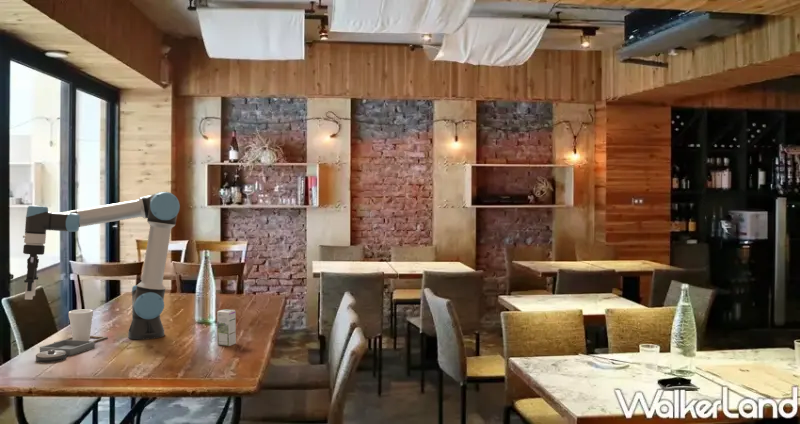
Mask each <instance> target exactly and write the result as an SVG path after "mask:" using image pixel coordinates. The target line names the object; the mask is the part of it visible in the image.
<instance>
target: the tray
mask: <svg viewBox="0 0 800 424" xmlns="http://www.w3.org/2000/svg"><path fill="white" fill-rule="evenodd" d="M61 340H62V341H60V340H57V341H58V342H56V341H54V342H55V343H54V342H52V343H49V344H46V345H42V346H39V353H40V352H44V351H48V350H51V349H54V350H62V351H65V352H66V353H67V356H69V357H71V356H73V355H77V354H80V353H83V352H86V351H89V350H92V349H94V348H95V343H94V340H89V341H79V340H73V339H72V340H63V339H61Z"/></svg>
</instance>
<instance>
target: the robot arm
mask: <svg viewBox="0 0 800 424" xmlns="http://www.w3.org/2000/svg"><path fill="white" fill-rule="evenodd" d="M180 207H181V205H180V201H179V199H178V197H177V196H176V195H175V194H174V193H172V192H168V191H158V192H156V193H152V194H149V195H145V196H140V197H139V198H138V199H134V200H128V201H121V202H116V203H110V204H103V205H97V206H91V207H85V208H78V209H73V210H63V211H58V212H57V211H49V208H48V206H41V205H29V206H27V208H26V215H25V224H24V225H25V226H24V227H25V229H24V235H22V239H24V240H23V241H24V242H23V243H24V245H23V247H22V248H23V250H22V251H23V252H22V253H23V254H24V255H29V256H28V257H27V260H26V269H27V270H26V271H27V272H26V278H25V279H24V280H23V281H24V282H23V283H25V291H24V300H28V301H29V300H33V298H34V297H35V296H36V289H37V287H36V285H37V280H39V277H38V275H37V274H38V267H39V263H40V262H39V261H40V259H39V256H38V255H41V256H42V255H45V248H46V246H45V244H46V237H47V231H58V232H69V233H73V232H74V233H75V232H76V233H77V232H79V231H80V230H79V229H80V228H82V227H87V226H88V227H89V226H94V225H99V224H105V223H110V222H111V223H112V222H118V221H123V220H129V219H135V218H143V219H147V221H146V222H147V223H148V225H149V230H148V231H149V232H148V238H147V243H146V244H147V245H146V251H145V258H144V261H143V262H144V264H143V268H142V269H143V270H142V274H141V275H142V276H141V281H140V282H139V283H138V284H136V285H133V286H132V287H131V304H132V306H131V307H132V308H131V309H132V311H131V312H132V313H131V315H132V317H131V318H132V320H131V323H130V325H129V329H128V332H127V337H128V339H130V340H131V339H132V340H152V339H153V340H154V339H157V338H162V337H164V336H165V328H164V325H163V323H162V320H161V314H162V313H163V311H164V309H165V302H164V301H165V294H166V287H165V285H164V283H163V282H164V277H165V269H166V262H167V257H168V250H169V245H170V238H171V231H172V229H173V228H174V227H175V226H176V223H177V219H178V214H179V212H180Z"/></svg>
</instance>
